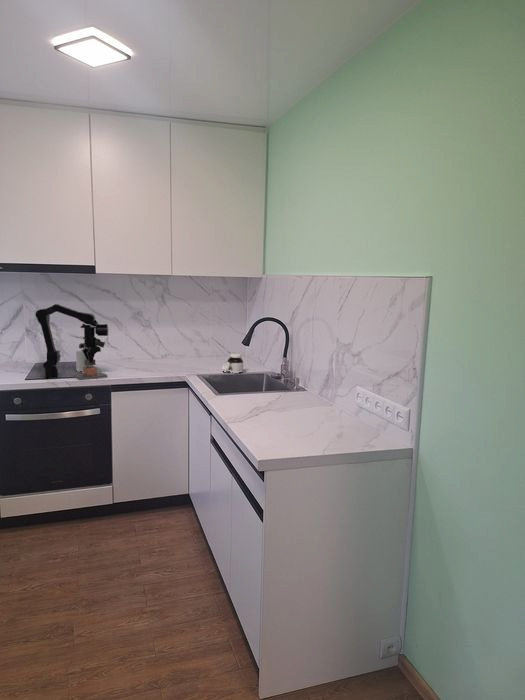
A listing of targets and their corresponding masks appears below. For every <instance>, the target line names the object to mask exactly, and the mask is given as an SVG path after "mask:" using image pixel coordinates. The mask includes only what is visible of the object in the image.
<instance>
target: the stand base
mask: <svg viewBox="0 0 525 700" xmlns="http://www.w3.org/2000/svg"><path fill="white" fill-rule="evenodd" d="M74 377H75V378H74ZM72 378H74V379H76V378H77V381H86V380H87V381H88V380H95V379H104V378H105V379H106V378H108V374H106V373H104V372H102V371H98V367H97V366H96V365H93V367H91V368H88V367H87V366H86V367H83V372H81V373H73V374H72Z"/></svg>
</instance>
